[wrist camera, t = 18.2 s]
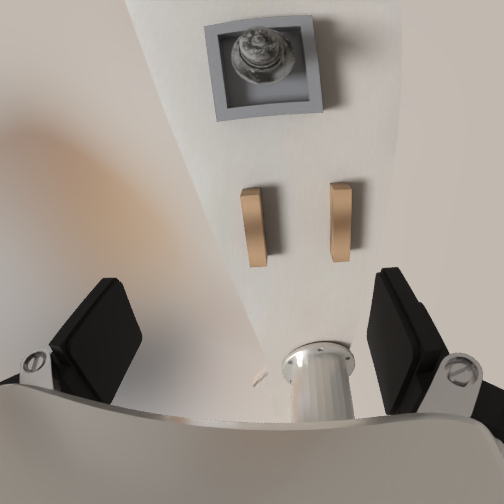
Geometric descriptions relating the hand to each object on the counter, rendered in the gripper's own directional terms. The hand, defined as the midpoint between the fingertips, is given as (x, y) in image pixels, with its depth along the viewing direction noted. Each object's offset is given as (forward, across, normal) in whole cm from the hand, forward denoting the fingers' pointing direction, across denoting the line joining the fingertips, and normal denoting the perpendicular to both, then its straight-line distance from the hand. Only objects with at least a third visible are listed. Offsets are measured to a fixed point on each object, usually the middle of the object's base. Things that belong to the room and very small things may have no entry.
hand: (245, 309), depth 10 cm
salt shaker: (+24, -1, -12) cm, 27 cm away
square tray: (+24, 0, -11) cm, 27 cm away
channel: (+25, -3, +7) cm, 26 cm away
